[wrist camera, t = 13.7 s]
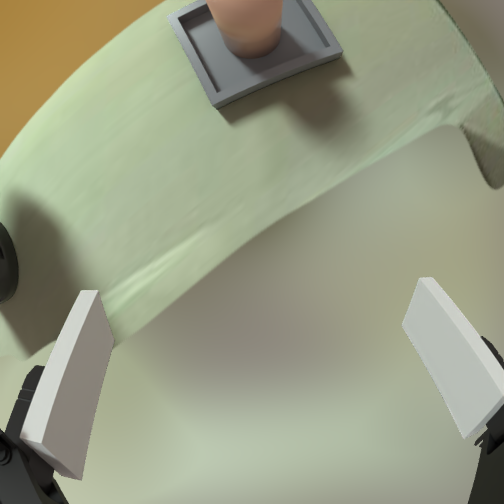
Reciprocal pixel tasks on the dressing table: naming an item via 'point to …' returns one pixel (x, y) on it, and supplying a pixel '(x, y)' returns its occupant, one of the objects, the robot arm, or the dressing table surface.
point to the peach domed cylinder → (248, 25)
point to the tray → (259, 69)
